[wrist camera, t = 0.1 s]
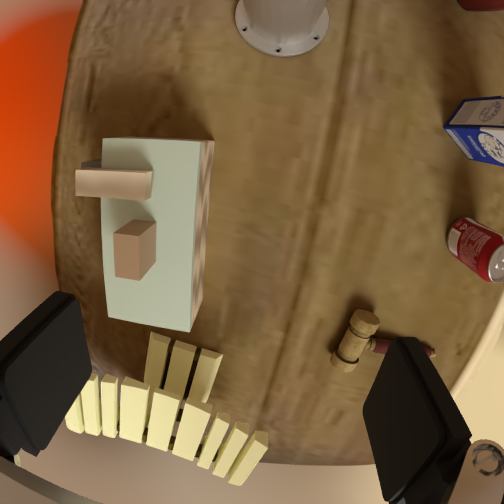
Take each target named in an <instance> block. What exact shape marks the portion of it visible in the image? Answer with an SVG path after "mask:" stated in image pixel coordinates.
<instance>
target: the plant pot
mask: <svg viewBox="0 0 504 504" xmlns="http://www.w3.org/2000/svg"><path fill="white" fill-rule="evenodd" d="M458 2H459V3H460V5H461V6H462V7H463V8H464V9H465V10H467V11H499V10H504V0H458Z"/></svg>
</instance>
